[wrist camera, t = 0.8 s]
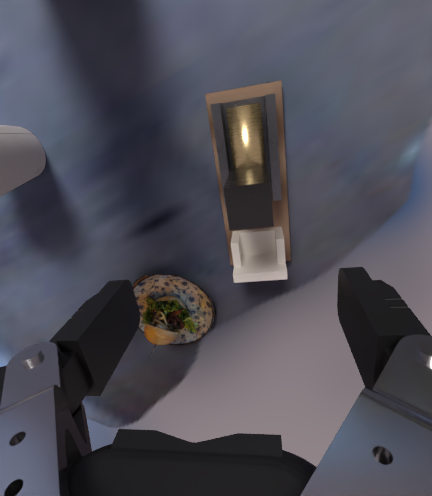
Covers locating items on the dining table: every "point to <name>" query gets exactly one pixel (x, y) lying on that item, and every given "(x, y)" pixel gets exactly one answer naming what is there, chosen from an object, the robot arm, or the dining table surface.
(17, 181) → the dixie cup
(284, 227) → the base board
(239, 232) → the far socket
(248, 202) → the dark grey block
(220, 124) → the outer sleeve
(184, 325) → the burger
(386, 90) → the dining table surface
